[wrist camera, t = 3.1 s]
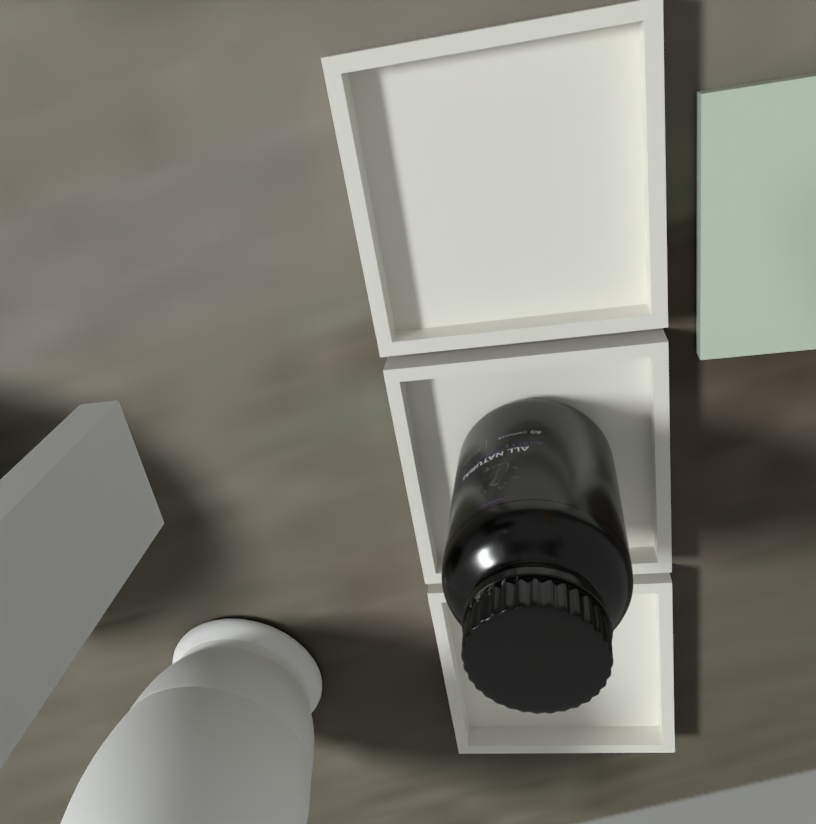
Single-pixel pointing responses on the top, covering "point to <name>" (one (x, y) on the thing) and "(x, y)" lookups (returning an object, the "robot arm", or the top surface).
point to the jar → (212, 736)
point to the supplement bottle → (537, 556)
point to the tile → (756, 218)
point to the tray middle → (549, 380)
